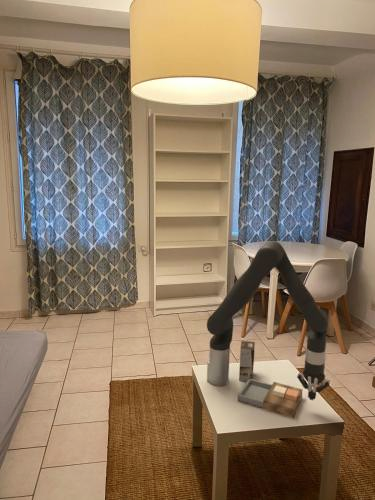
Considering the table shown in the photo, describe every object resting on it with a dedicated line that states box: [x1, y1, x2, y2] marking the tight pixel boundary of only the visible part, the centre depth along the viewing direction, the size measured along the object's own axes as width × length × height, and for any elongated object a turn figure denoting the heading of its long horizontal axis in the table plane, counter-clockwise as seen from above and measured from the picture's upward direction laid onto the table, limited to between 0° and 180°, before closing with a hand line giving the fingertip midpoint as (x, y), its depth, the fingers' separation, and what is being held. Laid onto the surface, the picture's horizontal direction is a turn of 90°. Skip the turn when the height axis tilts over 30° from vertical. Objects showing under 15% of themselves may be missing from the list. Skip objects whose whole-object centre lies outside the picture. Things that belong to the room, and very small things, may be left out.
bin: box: [237, 378, 273, 410], centre depth 167 cm, size 11×15×3 cm
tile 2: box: [285, 389, 299, 401], centre depth 160 cm, size 4×4×2 cm
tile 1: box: [273, 385, 287, 398], centre depth 162 cm, size 4×4×2 cm
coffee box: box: [238, 340, 256, 382], centre depth 182 cm, size 9×6×16 cm
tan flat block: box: [262, 381, 304, 419], centre depth 162 cm, size 12×16×4 cm
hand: (311, 398), depth 156 cm, fingers closed
